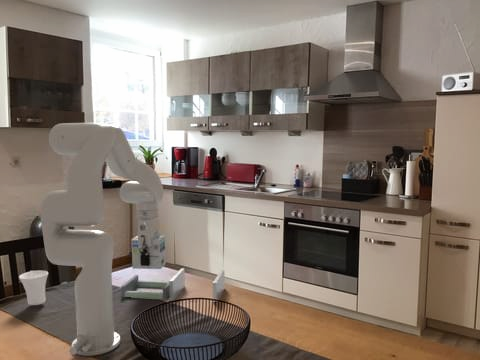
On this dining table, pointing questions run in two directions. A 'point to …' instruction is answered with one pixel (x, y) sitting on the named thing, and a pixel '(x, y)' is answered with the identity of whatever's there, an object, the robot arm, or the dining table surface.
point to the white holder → (179, 283)
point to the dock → (134, 282)
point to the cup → (34, 286)
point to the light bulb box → (150, 253)
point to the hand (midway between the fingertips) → (149, 261)
